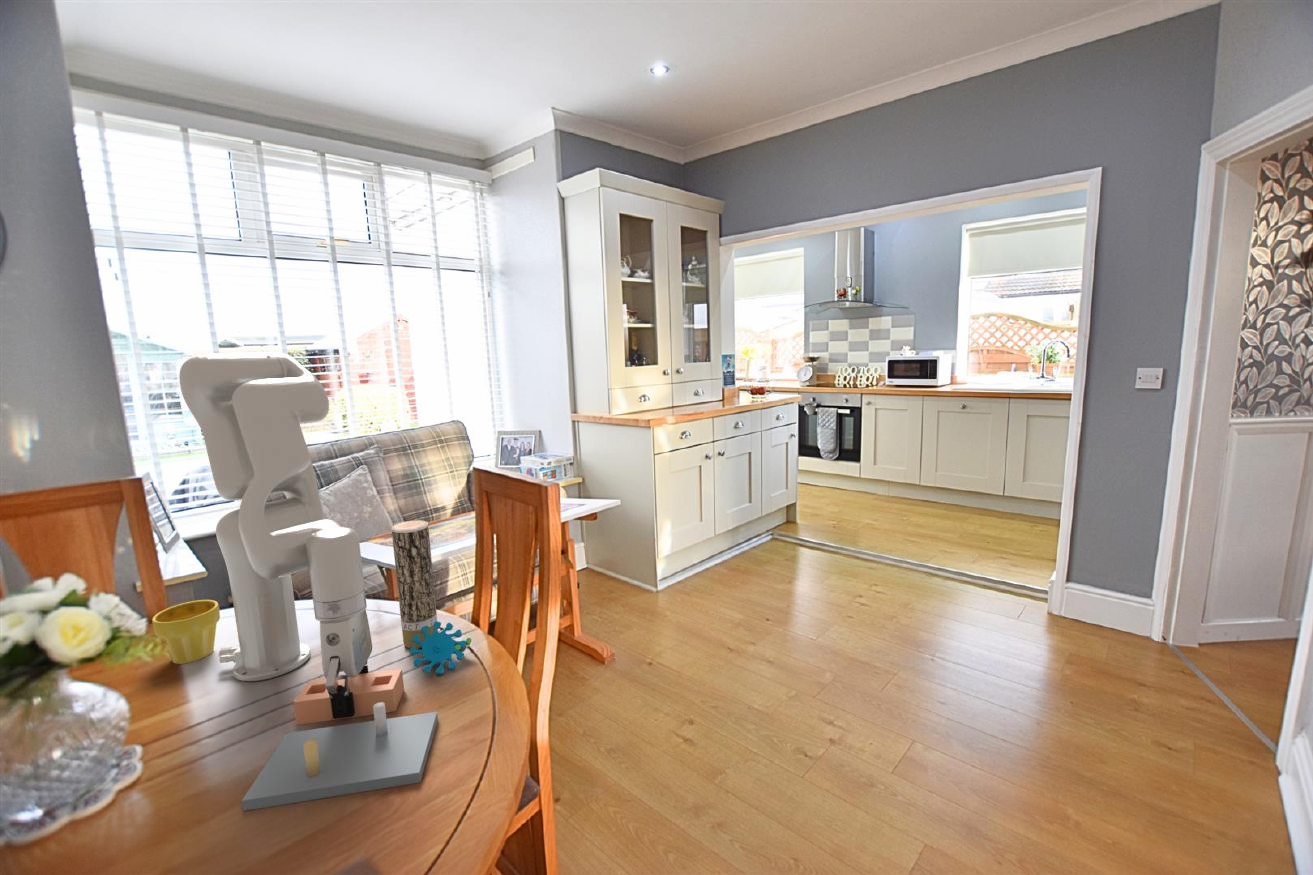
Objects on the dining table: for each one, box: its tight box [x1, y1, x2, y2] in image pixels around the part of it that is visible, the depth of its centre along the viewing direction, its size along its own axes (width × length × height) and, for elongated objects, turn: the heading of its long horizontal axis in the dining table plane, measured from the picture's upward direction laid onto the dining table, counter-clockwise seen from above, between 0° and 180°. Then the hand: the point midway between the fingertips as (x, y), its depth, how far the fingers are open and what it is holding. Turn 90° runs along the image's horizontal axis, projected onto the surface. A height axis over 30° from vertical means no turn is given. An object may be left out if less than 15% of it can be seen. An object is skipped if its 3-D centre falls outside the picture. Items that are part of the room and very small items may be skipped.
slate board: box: [241, 702, 439, 812], centre depth 84 cm, size 22×14×6 cm, turn 101°
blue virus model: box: [409, 621, 473, 675], centre depth 111 cm, size 11×6×10 cm
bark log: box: [391, 519, 439, 649], centre depth 118 cm, size 7×7×25 cm
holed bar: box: [293, 668, 405, 726], centre depth 98 cm, size 15×6×4 cm, turn 101°
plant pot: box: [151, 599, 221, 665], centre depth 117 cm, size 10×10×10 cm
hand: (352, 701), depth 98 cm, fingers open, 7 cm apart
